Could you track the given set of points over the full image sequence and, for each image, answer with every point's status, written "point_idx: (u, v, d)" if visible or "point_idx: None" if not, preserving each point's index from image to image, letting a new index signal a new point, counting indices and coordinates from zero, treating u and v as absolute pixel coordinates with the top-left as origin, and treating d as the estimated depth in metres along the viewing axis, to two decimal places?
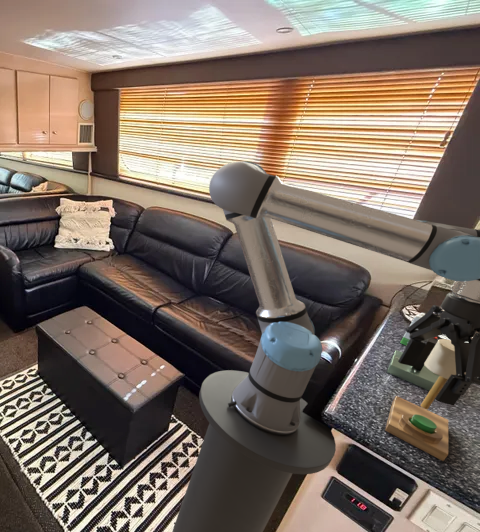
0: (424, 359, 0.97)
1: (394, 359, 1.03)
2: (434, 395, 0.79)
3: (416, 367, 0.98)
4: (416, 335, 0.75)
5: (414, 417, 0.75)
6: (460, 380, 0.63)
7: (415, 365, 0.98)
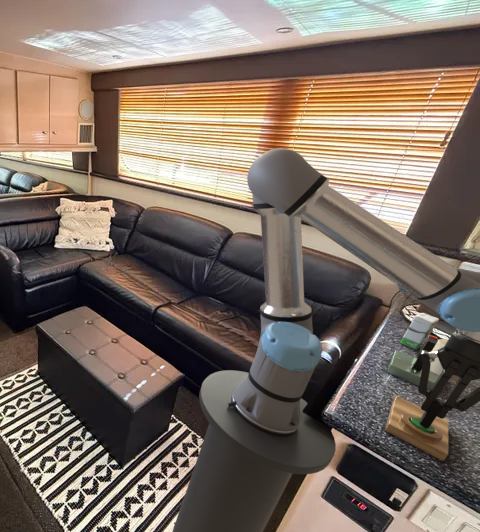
0: None
1: (394, 359, 1.03)
2: None
3: (416, 367, 0.98)
4: (437, 394, 0.71)
5: (412, 420, 0.75)
6: (443, 406, 0.71)
7: (415, 365, 0.98)
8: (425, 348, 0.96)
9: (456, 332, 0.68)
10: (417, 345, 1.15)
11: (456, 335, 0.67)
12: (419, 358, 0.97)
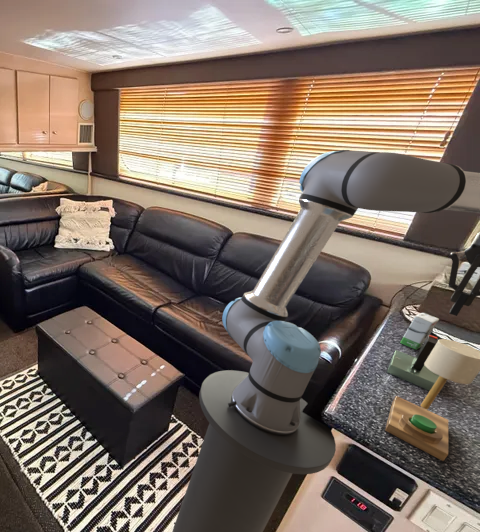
0: (424, 359, 0.97)
1: (394, 359, 1.03)
2: (434, 395, 0.79)
3: (416, 367, 0.98)
4: (464, 285, 0.88)
5: (414, 417, 0.75)
6: (470, 295, 0.87)
7: (415, 365, 0.98)
8: (425, 348, 0.96)
9: None
10: (417, 345, 1.15)
11: None
12: (419, 358, 0.97)
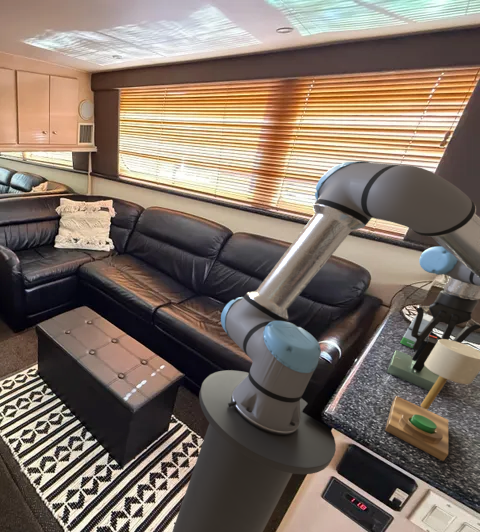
0: (424, 359, 0.96)
1: (394, 359, 1.03)
2: (434, 395, 0.79)
3: (416, 367, 0.98)
4: (425, 336, 0.97)
5: (414, 417, 0.75)
6: None
7: (415, 365, 0.98)
8: (426, 348, 0.96)
9: (443, 290, 0.93)
10: None
11: (443, 292, 0.92)
12: (419, 358, 0.97)
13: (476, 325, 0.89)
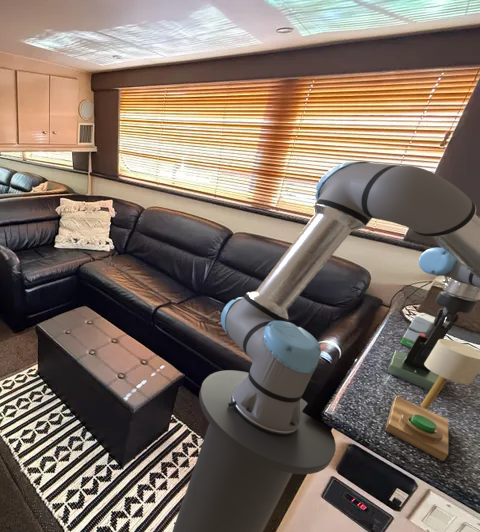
0: None
1: (394, 359, 1.03)
2: (434, 395, 0.79)
3: None
4: None
5: (414, 417, 0.75)
6: None
7: None
8: None
9: (458, 298, 0.89)
10: None
11: (466, 301, 0.88)
12: None
13: None
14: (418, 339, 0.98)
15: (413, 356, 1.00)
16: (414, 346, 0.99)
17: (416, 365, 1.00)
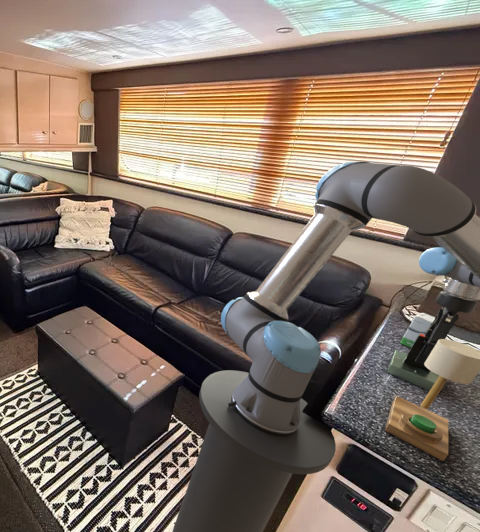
0: None
1: (394, 359, 1.03)
2: (434, 395, 0.79)
3: None
4: None
5: (414, 417, 0.75)
6: None
7: None
8: None
9: (458, 298, 0.89)
10: None
11: (466, 301, 0.88)
12: None
13: None
14: (418, 339, 0.98)
15: (413, 356, 1.00)
16: (414, 346, 0.99)
17: (416, 365, 1.00)
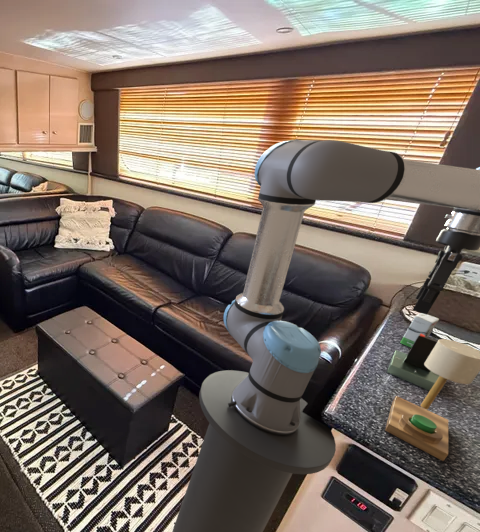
0: None
1: (394, 359, 1.03)
2: (434, 395, 0.79)
3: None
4: None
5: (414, 417, 0.75)
6: None
7: None
8: None
9: (463, 233, 0.77)
10: None
11: (472, 236, 0.77)
12: None
13: None
14: (418, 339, 0.98)
15: (413, 356, 1.00)
16: (414, 346, 0.99)
17: (416, 365, 1.00)
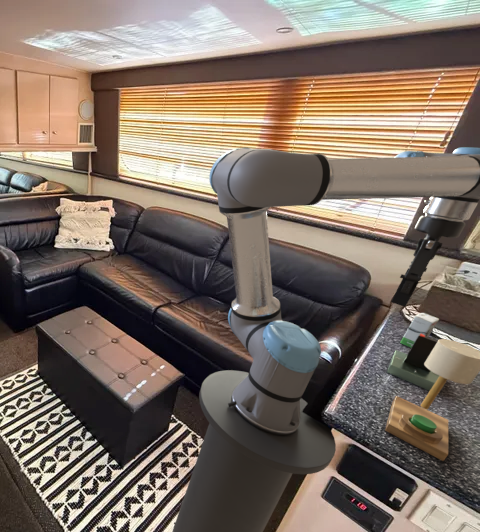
0: None
1: (394, 359, 1.03)
2: (434, 395, 0.79)
3: None
4: None
5: (414, 417, 0.75)
6: None
7: None
8: None
9: (442, 219, 0.73)
10: None
11: (451, 222, 0.72)
12: None
13: None
14: (418, 339, 0.98)
15: (413, 356, 1.00)
16: (414, 346, 0.99)
17: (416, 365, 1.00)
